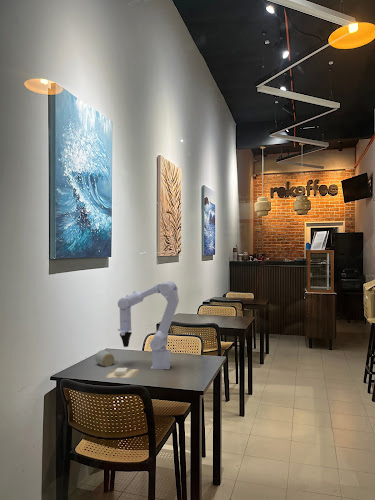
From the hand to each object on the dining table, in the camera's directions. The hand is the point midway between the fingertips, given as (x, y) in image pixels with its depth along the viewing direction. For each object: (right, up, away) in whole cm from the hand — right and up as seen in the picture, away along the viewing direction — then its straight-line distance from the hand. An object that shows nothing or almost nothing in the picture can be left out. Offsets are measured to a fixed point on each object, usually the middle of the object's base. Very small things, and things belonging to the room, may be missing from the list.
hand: (126, 346), depth 211 cm
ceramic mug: (-10, -11, +2) cm, 15 cm away
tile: (0, -8, -13) cm, 15 cm away
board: (+1, -10, -16) cm, 19 cm away
